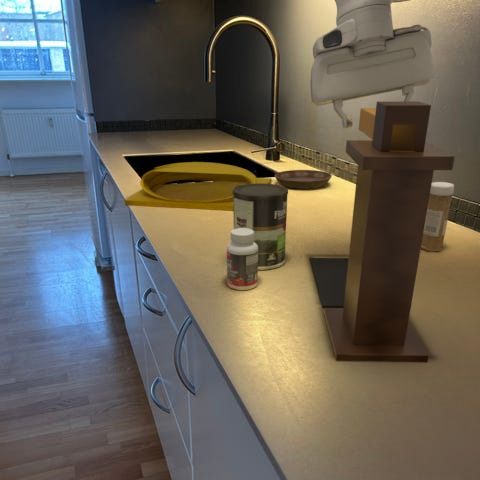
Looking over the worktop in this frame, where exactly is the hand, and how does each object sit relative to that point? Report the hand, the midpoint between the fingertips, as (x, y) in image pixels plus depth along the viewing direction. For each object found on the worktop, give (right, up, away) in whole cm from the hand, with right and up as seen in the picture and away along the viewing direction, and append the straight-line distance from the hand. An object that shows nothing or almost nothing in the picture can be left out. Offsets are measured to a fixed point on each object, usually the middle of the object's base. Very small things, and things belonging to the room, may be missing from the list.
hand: (375, 122), depth 87 cm
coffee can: (-19, -22, +13) cm, 33 cm away
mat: (-4, -27, +4) cm, 28 cm away
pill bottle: (-23, -28, +3) cm, 36 cm away
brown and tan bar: (-4, -10, -19) cm, 22 cm away
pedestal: (-4, -36, -14) cm, 39 cm away
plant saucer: (-4, +9, +73) cm, 74 cm away
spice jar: (+17, -19, +20) cm, 32 cm away
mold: (-34, +4, +64) cm, 72 cm away
